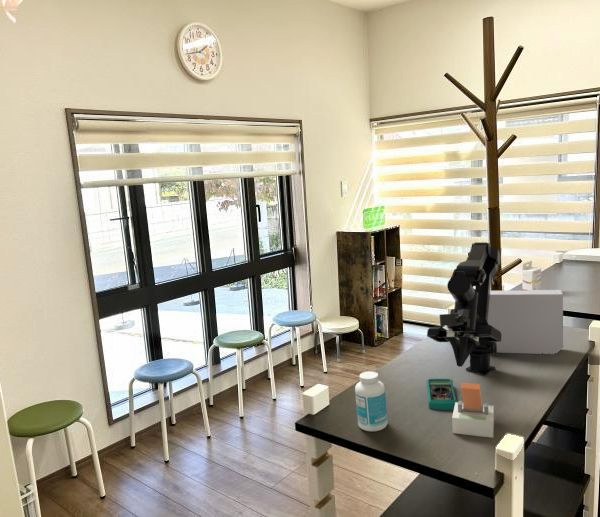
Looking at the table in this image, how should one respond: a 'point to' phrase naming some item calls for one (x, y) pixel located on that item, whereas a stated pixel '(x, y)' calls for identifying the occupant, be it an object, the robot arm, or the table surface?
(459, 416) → the switch base
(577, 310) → the table surface
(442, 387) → the digital multimeter
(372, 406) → the pill bottle
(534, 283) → the ink cartridge box
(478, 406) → the lever
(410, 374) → the table surface
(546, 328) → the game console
